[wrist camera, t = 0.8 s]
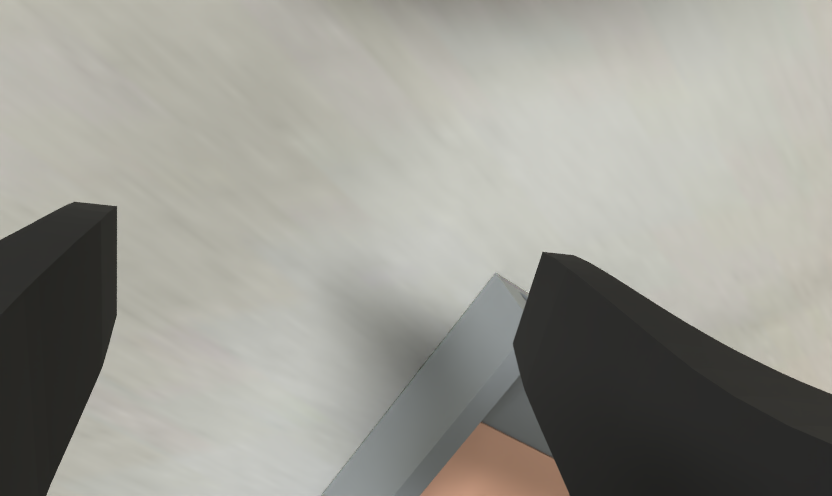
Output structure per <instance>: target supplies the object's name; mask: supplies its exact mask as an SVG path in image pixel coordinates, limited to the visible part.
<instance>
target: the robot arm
mask: <svg viewBox="0 0 832 496" xmlns="http://www.w3.org/2000/svg"><path fill="white" fill-rule="evenodd" d="M116 316H117V206H108V205H99V204H90V203H80V202H73V203H71V204H68V205H66V206H64V207H62V208H60V209H58V210H56V211H54V212H52V213H50V214H48V215H47V216H45V217H43V218H41V219H39V220H37V221H35V222H34V223H32V224H30V225H28V226H26V227H24V228H22V229H20V230H19V231H17V232H15V233H13V234H11V235H9V236H7V237H5V238H3V239H1V240H0V496H46V495H47V492H48V490H49V487H50V484H51V482H52V480H53V478H54V475H55V473H56V471H57V469H58V466H59V464H60V462H61V460H62V457H63V455H64V453H65V451H66V448H67V446H68V444H69V442H70V439H71V437H72V435H73V433H74V431H75V428H76V426H77V424H78V422H79V419H80V417H81V415H82V413H83V410H84V408H85V406H86V404H87V401H88V399H89V397H90V394H91V392H92V390H93V388H94V385H95V383H96V381H97V378H98V376H99V374H100V371H101V369H102V366H103V363H104V359H105V356H106V353H107V349H108V346H109V342H110V338H111V335H112V331H113V327H114V323H115V320H116ZM513 347H514V352H515V356H516V360H517V364H518V369H519V372H520V376H521V379H522V383H523V387H524V390H525V392H526V395H527V397H528V400H529V402H530V405H531V407H532V409H533V412H534V414H535V417H536V419H537V421H538V424H539V426H540V428H541V431H542V433H543V435H544V437H545V440H546V442H547V444H548V447H549V449H550V451H551V453H552V456H553V458H554V460H555V463H556V465H557V467H558V469H559V472H560V474H561V476H562V479H563V481H564V483H565V485H566V488H567V490H568V492H569V495H570V496H832V394H830V393H827V392H825V391H822V390H820V389H817V388H815V387H812V386H810V385H808V384H805V383H803V382H800V381H798V380H796V379H794V378H791V377H789V376H787V375H785V374H782V373H780V372H778V371H776V370H774V369H772V368H770V367H768V366H766V365H764V364H762V363H760V362H758V361H756V360H754V359H752V358H749V357H747V356H745V355H743V354H741V353H739V352H737V351H736V350H734V349H732V348H730V347H728V346H726V345H724V344H722V343H721V342H719V341H717V340H715V339H714V338H712V337H710V336H708V335H707V334H705V333H703V332H701V331H700V330H698V329H696V328H694V327H693V326H691V325H689V324H688V323H686V322H684V321H683V320H681V319H679V318H678V317H676V316H674V315H673V314H671V313H670V312H668V311H666V310H665V309H663V308H662V307H660V306H658V305H657V304H655V303H654V302H652V301H650V300H649V299H647V298H646V297H644V296H643V295H641V294H639V293H638V292H636V291H635V290H633V289H632V288H630V287H629V286H627V285H625V284H624V283H622V282H621V281H619V280H617V279H616V278H614V277H613V276H611V275H609V274H608V273H606V272H605V271H603V270H601V269H599V268H598V267H596V266H594V265H593V264H591V263H589V262H587V261H585V260H583V259H581V258H579V257H576V256H574V255H566V254H557V253H547V252H543V253H542V256H541V259H540V262H539V265H538V268H537V271H536V274H535V277H534V280H533V283H532V286H531V289H530V292H529V295H528V298H527V301H526V304H525V307H524V310H523V313H522V316H521V319H520V323H519V326H518V329H517V332H516V335H515V338H514V341H513Z"/></svg>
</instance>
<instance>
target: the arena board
mask: <svg viewBox="0 0 832 496" xmlns="http://www.w3.org/2000/svg"><path fill="white" fill-rule="evenodd" d="M528 295H529V293H527V292H526V291H524V290H522V289H521V288H519V287H518V286H516V285H514V284H513V283H511V282H510V281H508V280H506V279H505V278H503V277H501V276H500V275H498V274H497V273H495V274H494V276H493V277H492V278H491V280H490V281H489V282H488V283H487V285H486V286H485V287H484V288H483V290H482V291H481V292H480V294H479V295H478V296H477V297H476V299H475V300H474V301H473V302H472V304H471V305H470V306H469V308H468V309H467V310H466V311H465V313H464V314H463V315H462V316H461V318H460V319H459V320H458V322H457V323H456V324H455V325H454V327H453V328H452V329H451V331H450V332H449V333H448V334H447V336H446V337H445V338H444V339H443V341H442V342H441V343H440V345H439V346H438V347H437V348H436V350H435V351H434V352H433V353H432V355H431V356H430V357H429V359H428V360H427V361H426V362H425V364H424V365H423V366H422V368H421V369H420V370H419V371H418V373H417V374H416V375H415V376H414V378H413V379H412V380H411V382H410V383H409V384H408V385H407V387H406V388H405V389H404V390H403V392H402V393H401V394H400V396H399V397H398V398H397V399H396V401H395V402H394V403H393V404H392V406H391V407H390V408H389V410H388V411H387V412H386V413H385V415H384V416H383V417H382V419H381V420H380V421H379V422H378V424H377V425H376V426H375V427H374V429H373V430H372V431H371V433H370V434H369V435H368V436H367V438H366V439H365V440H364V441H363V443H362V444H361V445H360V447H359V448H358V449H357V450H356V452H355V453H354V454H353V455H352V457H351V458H350V459H349V461H348V462H347V463H346V464H345V466H344V467H343V468H342V470H341V471H340V472H339V473H338V475H337V476H336V477H335V478H334V480H333V481H332V482H331V484H330V485H329V486H328V487H327V489H326V490H325V491H324V492H323V494H322V495H321V496H570V495H569V492H568V490H567V488H566V485H565V483H564V481H563V479H562V476H561V474H560V472H559V469H558V467H557V465H556V463H555V460H554V458H553V456H552V453H551V451H550V449H549V447H548V444H547V442H546V440H545V437H544V435H543V433H542V431H541V428H540V426H539V424H538V421H537V419H536V417H535V414H534V412H533V409H532V407H531V405H530V402H529V400H528V397H527V395H526V392H525V390H524V387H523V383H522V379H521V376H520V372H519V369H518V364H517V360H516V356H515V352H514V347H513V341H514V338H515V335H516V332H517V329H518V326H519V323H520V319H521V316H522V313H523V310H524V307H525V304H526V301H527V298H528Z"/></svg>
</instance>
